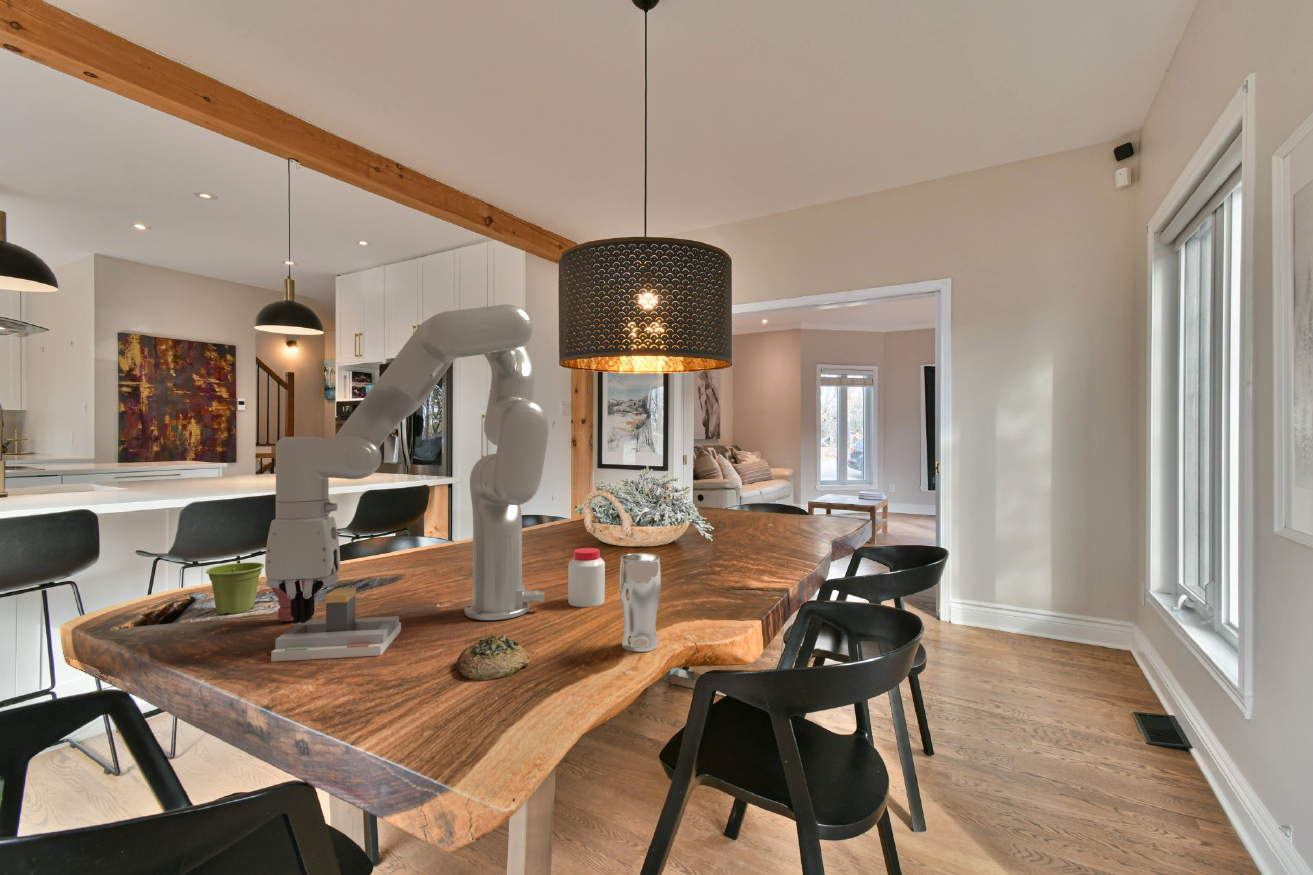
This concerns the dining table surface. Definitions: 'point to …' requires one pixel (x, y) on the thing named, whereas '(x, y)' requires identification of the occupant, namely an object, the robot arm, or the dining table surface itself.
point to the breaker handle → (340, 610)
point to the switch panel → (334, 651)
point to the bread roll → (492, 658)
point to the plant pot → (235, 586)
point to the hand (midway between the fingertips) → (302, 620)
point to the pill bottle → (586, 578)
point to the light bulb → (285, 603)
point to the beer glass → (640, 600)
